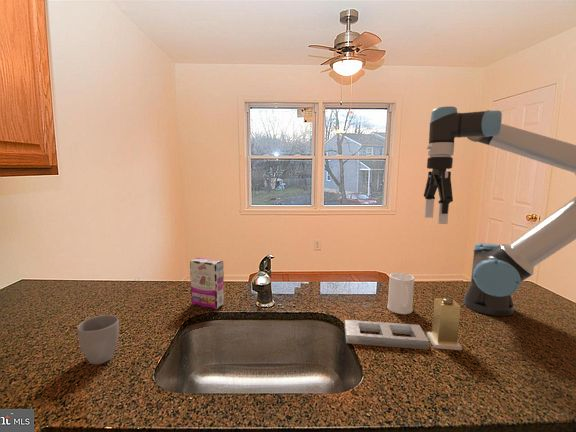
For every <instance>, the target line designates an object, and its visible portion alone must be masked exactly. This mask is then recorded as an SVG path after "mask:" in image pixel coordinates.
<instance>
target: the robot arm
mask: <svg viewBox="0 0 576 432" xmlns="http://www.w3.org/2000/svg"><path fill="white" fill-rule="evenodd" d="M502 116H503V114H502V111H501V110H498V109H497V110H488V109H487V110H482V111H472V112H470V111H469V112H458V108H457V107H456V106H453V105H452V106H439V107H435V108H434V109H433V110H432V111H431V115H430V122H429V133H428V134H429V136H428V146H426V149H427V155H428V156H429V157H428V158H427V160H426V168H427V169H429V170H431V169H432V171H428V173H427V180H426V184H425V188H424V192H423V193H424V194H423V197H424V199H425V201H424V202H425V203H424V204H425V205H424V218H430V219H431V218H434V207H435V200H436V197H435V195H436V192H437V190H438V195H439V200H438V211H437V212H438V213H437V224H439V225H448V220H449V208H450V203H453V201H454V199H453V198H454V197H453V187H452V180H451V179H452V178H451V176H452V171H451V170H450V171H447V170H449V169H453V161H454V158H453V156H454V152H455V138H467V139H468V141H472V142H475V143H476V142H477V143H481V144H484V145H486V146H487V145H488V146H490V147H494V148H497V149H499V150H503V151H506V152H509V153H511V154H514V155H518V156H521V157H524V158H528V159H530V160H534V161H537V162H540V163H543V164H546V165H549V166H553V167H555V168H558V169H561V170H565V171H568V172H571V173H572V174H575V176H576V144H573V143H570V142H567V141H563V140H559V139H556V138H553V137H549V136H546V135H542V134H539V133H536V132H532V131H529V130H524V129H521V128H518V127H515V126H512V125H508V124H505V123H502ZM575 240H576V196H575V197H573V198H572V199H570V201H568V202H567V203H565V204H564V205H562V206H561V207H560V208H558V209H557V210H556V211H554V212H553V213H551V214H550V215H548V216H547V217H546V218H544V219H543V220H542V221H540V222H539V223H538V224H536V225H534V226H533V227H532V228H531V229H529V230H528V231H526V232H524V233H523V234H522V235H520V236H519V237H517V239H515V240H514V241H512V242H511V243H507V244H506V243H504V244H503V243H500V244H496V243H495V244H494V243H486V242H485V243H484V242H483V243H482V242H480V243H479V242H478V243H475V245H474V247H473V248H474V249H473V259H472V267H471V279H470V284H469V286H468V288H467V290H466V291H465V294H464V296H463V304H464V305H465V306H466V307H467V308H468V309H470V310H472V311H476V312H478V313H480V314H484V315H489V316H493V317H494V316H497V317H508V316H511V315H513V314H514V311H515V310H514V309H515V305H514V302H513V298H512V294H514V293H515V292H517V290H518V289H519V288H520V286H521V283H522V282H523V281H526V280H527V279H528V278H530V277H532V276H533V275H534V271H535V270H534V269H535V266H538V265H539V264H540V263H542V262H543V261H545V260H547V259H548V258H549V257H551V256H553V255H554V254H556V253H558V252H559V251H560V250H561V249H563V248H565V247H566V246H567V245H569V244H571V243H573V242H574V241H575Z"/></svg>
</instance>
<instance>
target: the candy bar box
mask: <svg viewBox="0 0 576 432" xmlns="http://www.w3.org/2000/svg"><path fill="white" fill-rule="evenodd" d="M189 268H190V269H189V273H190V274H189V275H190V297H191V298H190V299H191V305H193V306H198V307H203V308H207V309H212V310H218V309H219V308H221V307H223V306H224V305H225V284H224V283H225V281H224V280H225V279H224V260H221V259H211V258H206V257H205V258H204V257H196V258H194V259H192V260H190V261H189Z"/></svg>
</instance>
